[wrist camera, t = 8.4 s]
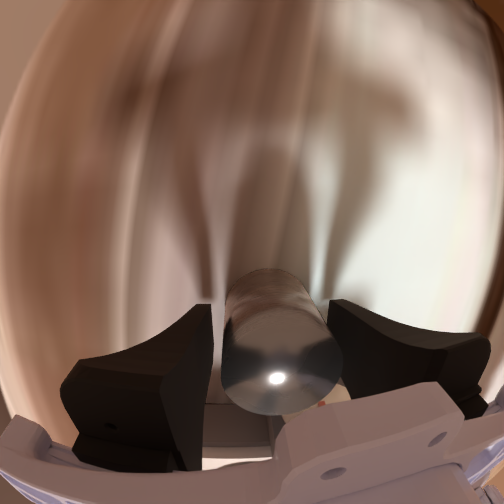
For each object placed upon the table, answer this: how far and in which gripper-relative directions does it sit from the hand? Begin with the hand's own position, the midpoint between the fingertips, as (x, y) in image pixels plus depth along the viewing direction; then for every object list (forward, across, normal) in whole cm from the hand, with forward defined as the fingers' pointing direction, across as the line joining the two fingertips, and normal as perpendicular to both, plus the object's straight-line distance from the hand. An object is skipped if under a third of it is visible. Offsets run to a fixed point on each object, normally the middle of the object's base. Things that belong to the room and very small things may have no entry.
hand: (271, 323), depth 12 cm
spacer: (+1, 0, 0) cm, 1 cm away
